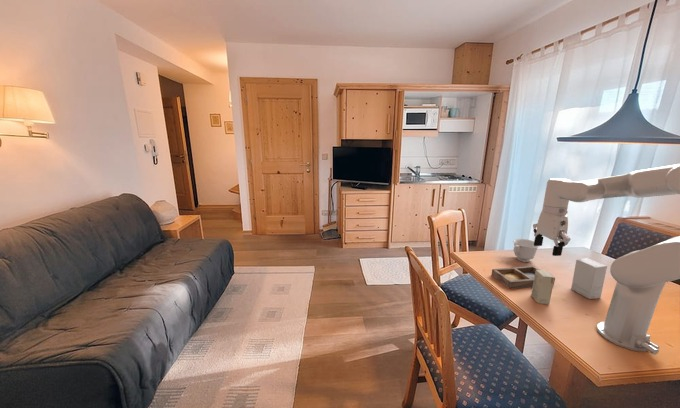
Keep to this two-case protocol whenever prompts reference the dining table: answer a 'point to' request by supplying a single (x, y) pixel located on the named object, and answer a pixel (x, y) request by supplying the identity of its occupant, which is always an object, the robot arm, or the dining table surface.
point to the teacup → (524, 249)
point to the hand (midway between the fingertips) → (546, 250)
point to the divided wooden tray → (516, 276)
